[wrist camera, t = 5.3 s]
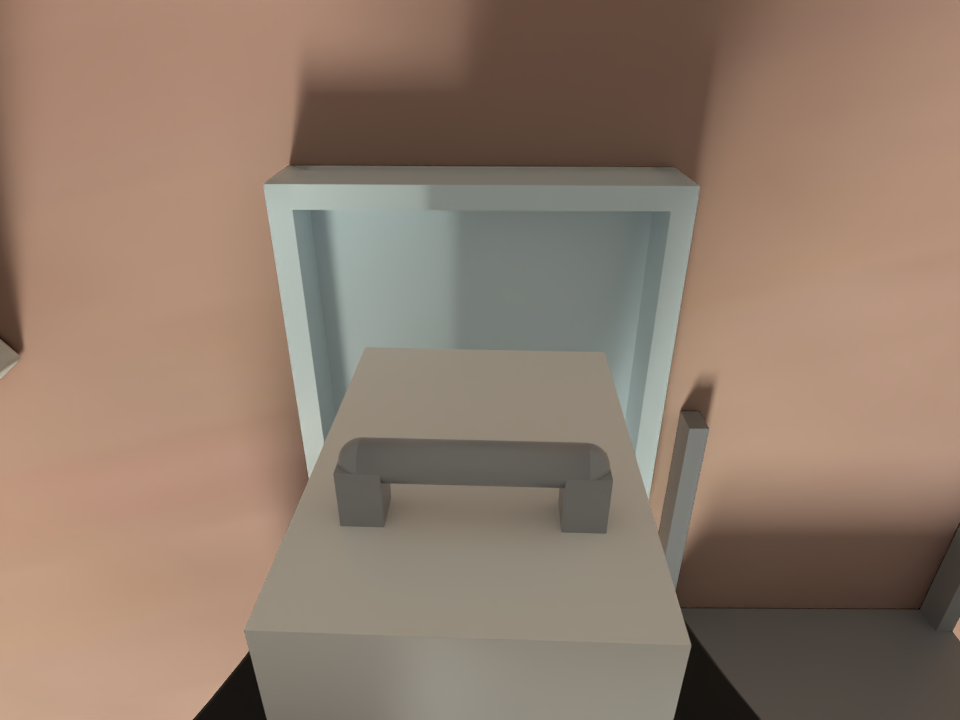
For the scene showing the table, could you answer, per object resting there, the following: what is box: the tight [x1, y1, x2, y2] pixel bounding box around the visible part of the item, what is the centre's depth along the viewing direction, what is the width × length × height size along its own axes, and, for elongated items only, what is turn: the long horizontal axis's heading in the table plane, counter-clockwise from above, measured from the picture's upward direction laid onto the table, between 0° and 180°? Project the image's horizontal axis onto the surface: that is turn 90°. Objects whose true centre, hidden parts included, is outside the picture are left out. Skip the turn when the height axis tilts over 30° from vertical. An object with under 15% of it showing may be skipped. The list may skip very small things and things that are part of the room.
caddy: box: [244, 347, 691, 720], centre depth 12 cm, size 9×5×7 cm, turn 0°
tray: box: [263, 165, 700, 500], centre depth 19 cm, size 13×10×2 cm
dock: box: [659, 411, 960, 720], centre depth 20 cm, size 10×11×5 cm
